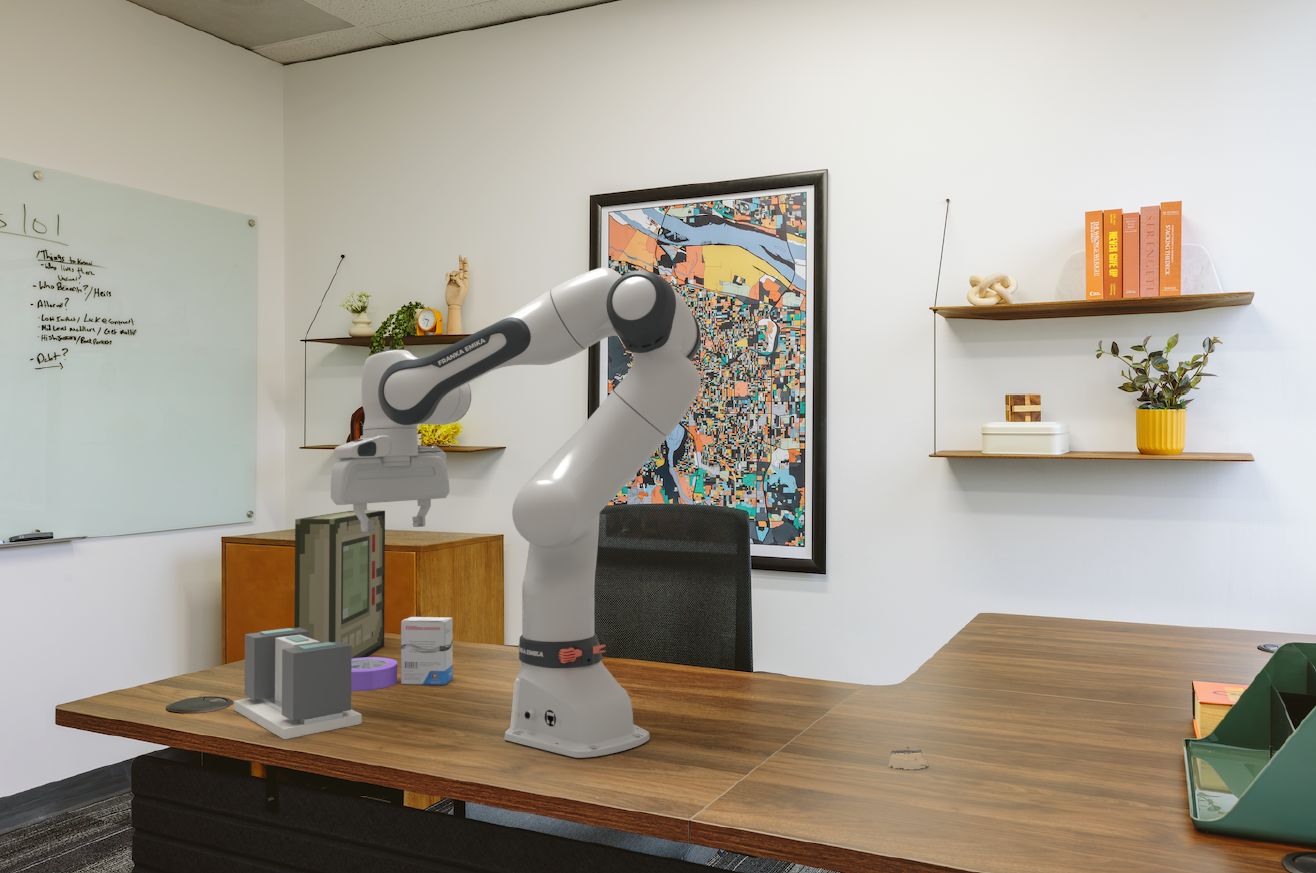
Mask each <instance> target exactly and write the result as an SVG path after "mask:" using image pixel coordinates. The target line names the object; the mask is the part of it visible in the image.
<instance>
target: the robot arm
mask: <svg viewBox="0 0 1316 873" xmlns="http://www.w3.org/2000/svg"><path fill="white" fill-rule="evenodd" d="M613 336H614V337H618V338H619V339H620V342H621V343H622V345H623V346H624V347H625V350H626V351H627V352H630V353H632V364H631V367H630V369H629V370H628V372H627V373H626V375H625V376H624V377H623V378H622V380H621V381H620V382H619V383H618V384H617V385H616V387H615V388H614V389H613V390H612V391H611V392H610V393H609V394H608V395H607V397H605V398H604V400H603V401H602V402H601V404H600V405H599V407H597V409H596V410H595V411H594V412H593V413H592V414H591V416H590V417H589V418H587V420H586V421H585V422H584V424H583V425H582V426H581V427H580V429H578V431H576V432H575V433H574V435H572V437H571V438H569V439H568V440H567V441H566V442H565V443H564V444H563V445H562V446H561V447H560V448H559V449H557V451H555V453H554V454H553V455H551V457H550V458H549V459H548V460H547V461H546V462H545V463H544V464H543V465H542V466H541V468H539V469H538V470H537V471H536V473H534V475H533V476H531V478H530V479H529V480H528V481H527V482H526V483H525V484H524V486H522V487H521V489H520V490H519V492H518V493H517V494H516V497H515V499H514V501H513V504H512V513H511V515H512V520H513V525H514V527H515V529H516V531H517V532H518V534H519V535H520V536H521V537H522V538H523V539H524V540H525V541H527V542H528V543H529V544H528V551H527V559H526V565H525V566H526V567H525V572H524V577H523V581H522V585H521V586H522V588H521V598H522V602H521V603H522V604H521V606H522V607H521V609H522V610H521V615H522V616H521V620H522V622H521V623H522V624H521V627H522V629H521V635H520V636H519V644H518V649H517V650H518V660H519V661H520V663H521V664H520V669H519V672H518V674H517V676H516V678H515V680H514V683H513V693H512V703H511V704H512V705H511V712H510V713H511V716H510V725H509V728H507V729H506V730H505V732H504V740H505V741H506V742H507V741H509V742H512V743H515V744H520V745H523V746H526V747H527V746H528V747H531V748H535V749H538V750H539V749H540V750H543V751H548V752H552V753H555V754H559V755H564V756H568V757H572V758H577V759H578V758H579V759H580V758H581V759H582V758H592V757H593V758H594V757H599V756H600V757H601V756H606V755H611V754H614V753H615V754H616V753H619V752H623V751H626V750H629V749H630V750H631V749H632V748H633V749H634V748H637V747H638V746H640V745H642V744H645V743H647V742H648V741H650V739H651V738H650V737H651V736H650V732H649V731H647V730H646V729H645V728H642V727H641V726H639V725H636V724H634V713H633V706H632V705H633V704H632V699H631V697H630V695H629V694H628V691H627V690H626V688H623V687H622V686H621V685H620V683H619V682H618V681H617V679H616V678H615V677H614V676H613V675H612V673H611V672H610V671H609V669H608V668H607V667H606V666H605V665H604V663H603V662H602V660H603V655H602V653H606V650H602V649H604V648H605V647H606V644H600V642H599V639H598V636H597V634H596V633H595V580H596V570H597V569H596V568H597V558H598V547H599V546H598V545H599V536H600V535H599V534H600V514H601V512H602V511H603V509H605V507H606V506H607V505H608V504H609V503H610V502H611V501H612V500H613V499H614V498H615V497H616V495H617V494H619V493H620V491H621V490H622V489H623V488H624V487H625V486H626V485H627V484H628V483H629V482H630V481H631V480H632V479H633V478H634V477H635V476H636V475H637V474H638V472H639V471H640V470H641V469H642V468H643V466H644V465H645V464H646V463H647V462H648V461H649V460H650V459H651V457H652V456H653V455H654V454H655V452H656V451H657V450H658V449H659V448H660V447H661V445H662V444H663V443H664V442H665V441H666V440H667V439H668V437H669V436H670V435H671V434H672V433H673V431H675V429H676V428H677V426H678V425H679V424H680V422H681V421H682V420H683V418H684V417H685V415H686V414H687V412H688V411H689V409H690V408H691V406H692V404H693V403H694V400H695V399H696V398H697V396H698V393H699V392H700V389H701V385H702V384H701V382H702V381H701V376H700V373H699V372H698V369H697V368H696V366H695V364H694V363H693V362H692V361H691V360H693V359H694V358H695V356H696V355H697V353H698V350H699V349H700V345H701V337H702V336H701V330H700V326H699V323H698V320H697V318H696V317H695V315H694V314H693V312H692V311H691V310H690V308H689V307H688V304H687V301H685V299H684V298H683V297H682V296H681V295H680V293H679V292H678V291H676V289H675V288H673V287H672V285H671V284H670V282H668V281H667V280H666V279H665V278H664V277H662V276H660V275H659V274H656V273H654V272H651V271H648V270H634V271H629V272H627V273H625V274H623V275H622V274H620V273H619V271H616V270H614V269H613V268H610V267H604V266H602V267H597V268H595V269H592V270H589V271H586V272H583V273H581V274H578V275H577V276H574V277H573V278H570V279H568V280H566V281H563V282H562V283H560V284H559V285H556V286H555V287H552V288H551V289H549V290H548V291H546V292H544V293H543V294H541V295H539V296H538V297H536V298H535V299H533V300H532V301H529V302H528V303H527V304H525V305H524V306H522V307H520V308H519V309H517V310H515V311H513V312H511V313H510V314H509V315H506V316H504V317H503V318H501V319H500V320H498V321H495V323H493V324H490V325H488V326H487V327H485V328H482V329H480V330H478V331H476V332H474V333H473V334H470V335H469V336H466V337H465V338H463V339H461V340H459V341H457V342H455V343H453V344H450V345H449V346H447V347H445V348H443V349H442V350H439V351H437V352H436V353H433V354H431V355H428V356H426V357H422V358H418V357H417V356H415V355H414V354H413V353H412V352H410V351H408V350H407V349H401V348H397V349H396V348H393V349H385V350H381V351H377V352H375V353H372V354H371V355H370V356H368V357H367V358H366V360H365V362H364V364H363V368H362V375H361V405H362V408H363V412H364V422H363V426H362V437H361V438H358V439H355V440H351V441H350V442H346V443H343V444H340V445H338V446H336V447H335V448H334V457H335V459H337V461H336V462H335V463H334V465H333V467H332V470H331V474H330V475H331V476H330V477H331V478H330V498H331V501H332V502H333V503H334V504H335V505H336V506H345V505H346V506H347V505H353V507H352V508H353V510H352V511H354V513H355V514H356V516H357V517H358V519H359V520H360V521H361V531H362V532H368V531H373V530H374V527H373V525H374V520H369V519H368V517H367V516H366V514H365V512H364V511H368V504H373V503H374V504H375V503H377V504H378V503H390V502H391V503H392V502H406V501H408V502H409V501H417V507H419V510H418V512H417V515H416V516H412V521H413V522H412V526H413V528H421V527H422V528H423V527H425V526H426V517H427V514H428V512H429V510H430V509H431V507H432V501H431V500H436V499H437V500H438V499H440V500H441V499H446V498H447V497H448V495H449V494H450V481H449V474H448V469H447V454H446V452H445V451H444V450H443V449H441V448H440V447H439V446H437V445H436V446H435V445H431V446H425V445H423V446H422V445H421V446H420V445H419V444H418V443H419V442H418V439H419V438H418V425H443V426H444V425H449V424H452V423H456V422H458V421H460V420H461V419H463V417H464V416H465V415H466V414H467V412H468V411H469V409H470V406H471V402H472V390H471V387H470V384H469V383H470V382H473V381H475V380H477V379H478V378H481V377H482V376H484V375H486V374H488V373H490V372H493V371H495V370H499V369H502V368H506V367H511V366H526V365H527V366H529V365H530V366H535V365H536V366H547V365H551V364H555V363H558V362H561V361H564V360H566V359H569V358H571V357H573V356H575V355H578V354H579V353H581V352H583V351H584V350H586V349H588V348H589V347H592V346H593V345H595V344H597V343H598V342H600V341H602V340H604V339H606V338H608V337H613ZM624 347H623V348H624Z"/></svg>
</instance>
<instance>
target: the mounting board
mask: <svg viewBox="0 0 1316 873" xmlns="http://www.w3.org/2000/svg"><path fill="white" fill-rule="evenodd" d="M233 710H234V712H237V713H238V714H240V715H242V716H244V717H245V718H247V719H248V720H250V721H252V722H254V724H255V723H256V724H258V725H259V726H260V727H262V728H264V729H265V730H267V731H269V732H270V733H272V734H274V735H276V736H277V737H279V738H281V739H283V740H288V739H289V740H290V739H293V738H297V737H302V736H307V735H313V734H317V733H318V734H319V733H323V732H327V731H332V730H333V731H334V730H337V729H342V728H346V727H352V726H357V725H362V722H363V721H362V719H363V716H362V715H363V714H362V713H360V712H359V711H356V710H354V709H352V708H351V710H349V711H343V718H339V719H334V720H329V721H324V722H318V723H313V724H308V725H303V724H301V723H299V722H297V721H292V720H290V719H288V718H286V717H285V716H283V715H282V713H281V712H279V711H277V710H275V709H273V708H271V707H269V706H268V705H266V704H264V703H262V702H260V701H258V700H253V699H251V698H249V697H247V698H243V699H235V700H233Z"/></svg>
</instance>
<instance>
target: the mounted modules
mask: <svg viewBox="0 0 1316 873" xmlns="http://www.w3.org/2000/svg"><path fill="white" fill-rule="evenodd" d="M293 635H302V636H305V637H308V638H310V631H308V630H305V629H302V628H294V627H292V628H291V627H289V628H288V627H287V628H279V629H271V630H265V631H264V630H262V631H259V632H251V633H245V634H244V696H246V697H247V698H251V699H253V700H257V699H263V698H269V697H275V638H278V637H285V636H293ZM351 658H352V645H349V644H346V643H343V642H340V641H338V642H326V643H319V644H311V645H304V646H298V647H294V648H286V649H282V715H283V716H285V717H286V718H288V719H290V720H292V721H296V720H301V719H307V718H312V717H317V716H322V715H328V714H333V713H338V712H343V711H349V710H351V709H352V691H351Z"/></svg>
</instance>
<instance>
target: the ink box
mask: <svg viewBox="0 0 1316 873" xmlns="http://www.w3.org/2000/svg"><path fill="white" fill-rule="evenodd" d="M453 627H454V625H453V617H441V616H440V617H438V616H437V617H436V616H435V617H433V616H425V617H424V616H410V617H408V618H404V619H402V620H401V622H400V684H401V685H425V686H426V685H429V686H430V685H431V686H433V685H434V686H436V685H437V686H440V685H441V686H445V685H447V684H448V683H449V682H451V681H452V680H453V679H454V677H453V676H454V674H453V673H454V672H453V670H454V669H453V668H454V666H453V664H454V663H453V660H454V659H453V658H454V657H453V656H454V654H453V645H454V644H453Z"/></svg>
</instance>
